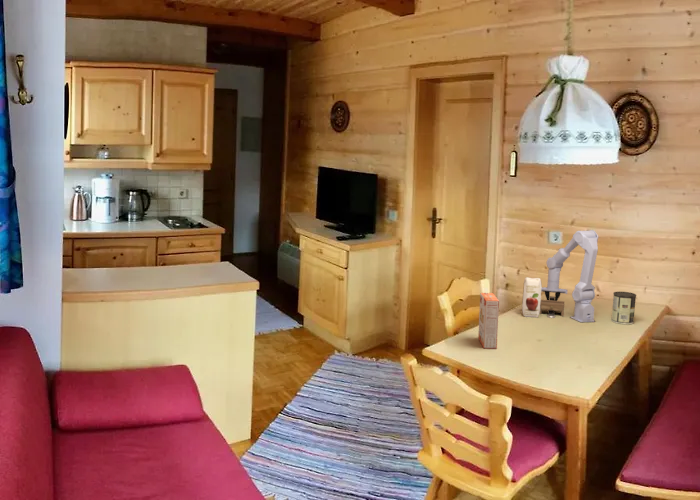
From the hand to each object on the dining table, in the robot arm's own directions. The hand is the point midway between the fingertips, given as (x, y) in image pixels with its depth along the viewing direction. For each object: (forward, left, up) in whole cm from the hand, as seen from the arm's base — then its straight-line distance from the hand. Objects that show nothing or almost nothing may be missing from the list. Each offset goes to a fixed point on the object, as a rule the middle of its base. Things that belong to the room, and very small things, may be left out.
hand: (551, 306), depth 345 cm
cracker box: (-50, +60, -2) cm, 79 cm away
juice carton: (-10, +17, -2) cm, 20 cm away
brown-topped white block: (-5, +3, -2) cm, 7 cm away
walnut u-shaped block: (-7, +4, -2) cm, 9 cm away
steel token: (-14, +8, -2) cm, 16 cm away
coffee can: (-27, -23, -2) cm, 35 cm away
